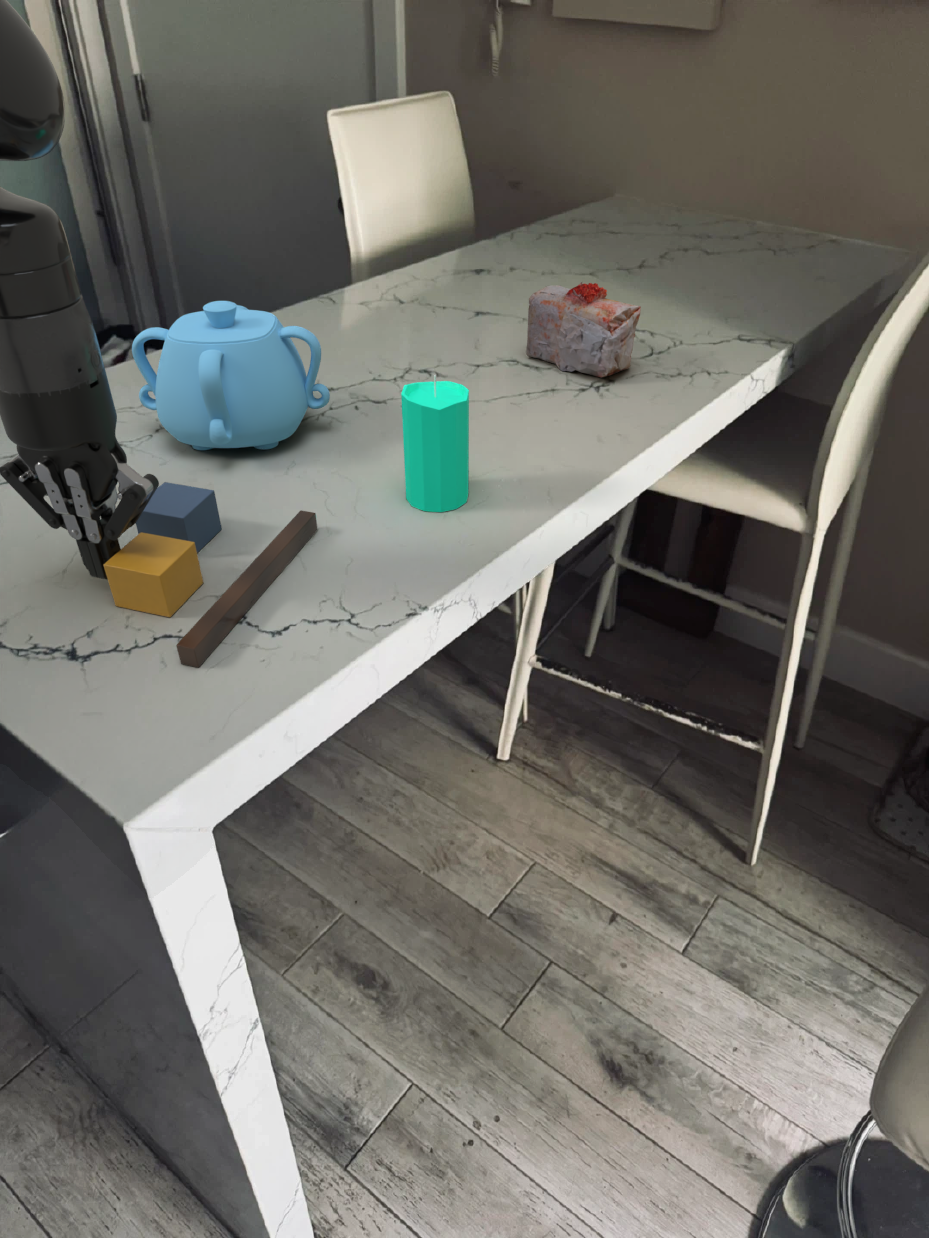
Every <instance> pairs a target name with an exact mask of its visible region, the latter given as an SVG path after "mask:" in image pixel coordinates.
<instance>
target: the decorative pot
mask: <svg viewBox="0 0 929 1238" xmlns="http://www.w3.org/2000/svg"><path fill="white" fill-rule="evenodd" d="M202 309H203V310H201V311H200V310H199V311H195V312H190V313H186V314H183V315H181V316H180V317H178V318H177V319H176V320H175V321H174V322H173V323H172V324H171V326H170V327H169V329H167V328H163V327H158V326H154V327H148V328H146V329H144V330H142V331H141V332H139V333H138V334H137V335H136V337H135V338H134V339H133V342H132V345H131V353H132V357H133V360H134V363H135V365H136V367H137V368H138V370H139V372H140V374H141V375H142V377H143V379H144V380H145V382H146V383H145V384H144V385H143V386H142V387H141V388H140V389H139V392H138V399H139V401H140V404H141V405H142V406H143V407H145V408H146V409H148V410H151V411H156V413H157V418H158V421H159V422H160V424H161V426H162V427H163V428H164V429H165V430H166V431H167V433H169V434H170V435H171V436H172V437H173V438H174V439H176V441H178V442H180V443H183V444H185V445H190V446H192V448H193V450H197V451H209V450H213V449H239V448H249V447H254V448H255V449H258V450H270V449H274V448H276V447H277V446H278V445H279V442H281V441H284V440H286V439H288V438H290V437H291V436H292V435H293V434H294V433H295V432H296V431H297V430H298V428H299V426H300V424H301V423H302V421H303V419H304V417H305V416H306V413H307V410H308V408H309V409H312V410H319V409H322V408H324V407H326V406H327V405H328V404H329V402H330V398H331V393H330V391H329V388H328V387H327V386H326V385H325V384H323V383H316V381H317V377H318V374H319V370H320V366H321V361H322V347H321V343H320V341H319V339H318V338H317V336H316V335H315V334H314V333H313V332H312V331H310V330H309V329H307V328H305V327H302V326H299V325H288V326H284V325H283V324H282V322H281V321H280V320H279V319H278V317H277V315H274V314H273V313H271V312H269V311H264V310H257V309H248V308H247V307H246V306H243V305H240V304H237V303H235V302H233V301H229V300H215V301H209V302H208V303H206V304H204V305H203V306H202ZM293 339H298V340H301V341H303V342H304V343H306V344H307V345H308V347H309V349H310V362H309V363H310V364H309V367H308V370H307V373H306V368H305V366H304V362H303V360H302V356H301V355H300V353H299V351H298V348H297V347H296V345H295V343H294V341H293ZM150 340H159V341H164V342H163V346H162V349H161V354H160V356H159V357H160V358H159V361H158V366H157V370H156V371H155V370H154V368H153V367H152V365H151V363H150V361H149V359H148V357H147V355H146V352H145V347H144V344H145V343H146V342H147V341H150ZM149 392H152V394H153V395H154V397H155V398H153V397H152V396H150V395H149ZM314 392H319V394H320V396H321V397H318V398H317V397H315V396H314Z"/></svg>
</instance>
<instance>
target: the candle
mask: <svg viewBox="0 0 929 1238" xmlns="http://www.w3.org/2000/svg"><path fill="white" fill-rule="evenodd" d="M400 393H401V394H400V396H401V397H400V398H401V400H400V401H401V418H402V440H403V459H404V461H403V463H404V485H405V499H406V501H407V503H409V505H410V506H411V507H413V508H415V509H418V510H420V511H423V512H428V513H429V512H430V513H445V512H449V511H454V510H457V509H460V507H463V505H465V504H467V502H468V499H469V495H470V494H469V493H470V491H469V489H470V488H469V487H470V485H469V484H470V481H469V480H470V479H469V477H470V476H469V474H470V471H469V469H470V468H469V467H470V466H469V465H470V463H469V462H470V390H469V388H467V387H466V386H465V385H463V384H461V383H459V382H454V381H450V380H437V376H436V374H434V375H433V381H419V382H416V381H415V382H411V383H407V384H404V385H403V388H402V391H401V392H400Z"/></svg>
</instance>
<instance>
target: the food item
mask: <svg viewBox="0 0 929 1238" xmlns="http://www.w3.org/2000/svg"><path fill="white" fill-rule="evenodd" d="M607 292H608V291H607V289H605V288H604V287H603V286H602V287H600V286H599V284H598V283H596V282H594V283H592V282H588V283H583V281H581V282H580V283H579V284H578V285H576V286H574V287H572V288H568V287H565V286H562V285H557V284H556V285H547V286H546V285H545V287H543V288H540V289H538V290H537V291H535V292H533V293H532V294H531V295H530V296H529V297H528V309H527V310H528V311H527V330H526V331H527V332H526V333H527V335H526V337H527V339H526V350H525V353H526V357H529V358H534V359H539V360H541V361H545V362H548V363H551V364H554V365H556V366H557V368H558V369H559V370H560V371H561V372H571V373H572V372H575V371H577V372H579V373H583V374H587V375H589V376H590V375H591V376H593V377H597V378H601V379H602V378H606V377H610V376H613V375H616V374H618V373H620V372H623V371H625V370H628V369H630V368H631V362H632V354H633V349H634V342H635V338H636V329H637V325H638V323H639V320H640V316H641V309H642V306H641V305H635V304H630V303H626V302H623V301H618V300H614V299H610V298H606V297H607V296H608V294H607Z"/></svg>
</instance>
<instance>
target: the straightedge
mask: <svg viewBox="0 0 929 1238" xmlns="http://www.w3.org/2000/svg"><path fill="white" fill-rule="evenodd" d="M317 531H318V522H317V513H316V512H313V511H307V510H303V509H302V510H299V511H298V512H297V513H296V514H295V516H294V517H293V518H292V519H291V520H290V521H289V522H288V523H287V524H286V525H285V526H284V528H283V529H281V531H280V532H279V533H278V534H277V535H276V536H275V537H274V538H273V539H272V541H271V542H270V543H269V544H268V545H267V546H265V548H264V549H263V550H262V551H261V552H260V553H259V554H258V556H257V557H256V558H255V559H254V560H253V561H252V562H251V563H250V564H249V565H248V567H246V568H245V570H243V572H242V573H241V574H240V575H239V576H238V578H236V579H235V580H234V582H233V583H232V584H231V585H230V586H229V587H228V588H227V589H226V590H225V592H224V593H222V595H221V596H220V597H219V598H217V600H216V601H215V602H214V603H213V604H212V606H211V607H210V608H209V609H208V610H207V611H206V612H205V613H204V614H203V616H201V618H200V619H198V621H197V622H196V623H195V624H194V625H193V626H192V627H191V628H190V629H189V630H188V632H187V633H186V634H185V635H184V636H183V637H182V638H181V639H180V640H179V641H178V642H177V643H176V651H177V654H178V657H179V662H180V664H181V665H183V666H189V667H193V668H197V669H198V668H201V666H202V665H203V663H204V662H205V661H206V660H207V659H208V658H209V657H210V655H211V654H212V653H213V652H214V651H215V649H217V647H218V646H219V645H220V644H221V643H222V641H223V640H224V639H225V638H226V637H227V635H229V633H230V632H231V631H232V630H233V628H234V627H235V626H236V625H237V624H238V623H239V622H240V621H241V619H242V618H243V617H244V616H245V614H247V612H248V611H249V610H250V609H251V608H252V607H253V606H254V604H256V602H258V600H259V598H260V597H261V596H262V595H263V594H264V593H265V591H266V590H268V588H269V587H270V586H271V584H272V583H273V582H274V581H275V580H276V579H277V578H278V576H279V575H280V574H281V573H282V572H283V571H284V569H285V568H286V567H287V566H288V565H289V564H290V562H291V561H292V560H293V559H294V558H295V557H296V555H297V554H299V552H300V551H301V550H302V549H303V547H304V546H305V545H306V544H307V543H308V541H310V540H311V538H312V537H313V536H314V535H315V534H316V532H317Z"/></svg>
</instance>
